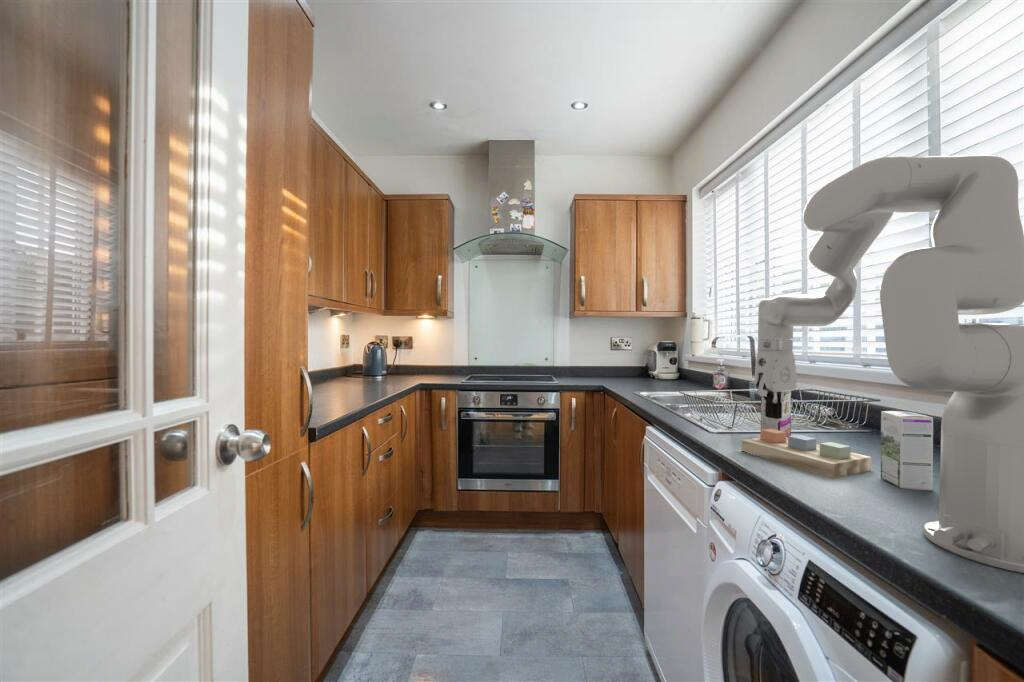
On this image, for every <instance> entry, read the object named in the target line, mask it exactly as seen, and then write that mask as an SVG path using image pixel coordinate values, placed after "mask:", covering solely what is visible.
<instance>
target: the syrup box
mask: <svg viewBox="0 0 1024 682" xmlns="http://www.w3.org/2000/svg"><path fill="white" fill-rule="evenodd" d="M933 470H934V417H932V416H928V415H925V414H920V413H915V412H912V411H903V410H883V411H882V410H881V411H880V479H881V480H884V481H886V482H888V483H890V484H892V485H894V486H896V487H898V488H900V489H906V490H918V491H920V490H921V491H933V488H934V481H933V479H934V471H933Z"/></svg>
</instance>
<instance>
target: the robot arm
mask: <svg viewBox="0 0 1024 682" xmlns="http://www.w3.org/2000/svg"><path fill="white" fill-rule="evenodd" d="M934 212H937V214H936V215H935V218H934V220H933V222H932V225H931V228H930V229H931V230H930V238H931V243H932V246H928V247H921V248H920V247H918V248H914V249H911V250H908V251H905V252H903V253H902V254H900V255H899V256H897V257H896V258H894V259H893V260H892V261H891V263H890V264H889V265H888V266H887V268H886V269H885V270H884V273H883V276H882V278H881V281H880V285H879V300H880V308H881V309H880V310H881V318H882V325H883V327H882V328H883V334H884V343H885V351H886V352H885V353H886V357H887V360H888V365H889V367H890V369H891V372H892V373H893V374H894V377H896V378H897V379H898V381H900V382H902V384H904V385H906V386H908V387H910V388H913V389H916V390H919V391H920V390H921V391H925V392H927V391H928V392H946V393H949V392H953V394H952V395H951V396H950V398H949V400H948V401H947V403H946V405H945V407H944V409H943V412H942V415H941V416H942V417H941V424H940V425H941V426H940V460H939V462H940V465H939V499H938V500H939V506H938V507H939V509H938V511H939V512H938V520H935V521H928V522H926V523H924V525H923V534H924V536H925V537H926V538H927V539H928V540H929V541H930V542H932V543H933V544H935V545H937V546H939V547H940V548H942V549H945V551H946V550H947V551H949V552H951V553H953V554H956V555H959V556H960V557H963V558H966V559H969V560H972V561H975V562H978V563H982V564H984V565H987V566H992V567H995V568H1000V569H1004V570H1007V571H1011V572H1012V571H1013V572H1015V573H1023V574H1024V325H1020V324H1015V323H1004V322H1003V323H1002V322H1001V323H999V322H961V323H960V322H959V315H960V316H962V315H963V316H964V315H965V316H966V315H967V316H969V315H972V316H973V315H992V314H993V315H994V314H1000V313H1005V312H1008V311H1009V312H1010V311H1011V310H1014V309H1016V308H1017V307H1020V306H1021V305H1022V304H1023V303H1024V228H1023V224H1022V220H1021V216H1020V209H1019V176H1018V173H1017V170H1016V168H1015V167H1014V165H1013V164H1012V163H1011V162H1010V161H1008V160H1007V159H1005V158H1003V157H1001V156H999V155H998V156H997V155H990V154H989V155H988V154H983V155H982V154H979V155H974V154H973V155H926V156H885V157H879V158H875V159H872V160H869V161H867V162H865V163H862V164H860V165H858V166H857V167H855V168H853V169H851V170H849V171H847V172H846V173H844V174H842V175H840V176H838V177H836V178H835V179H833V180H831V181H829V182H828V183H826V184H824V185H823V186H822V187H820V188H819V189H818V190H817V191H815V193H813V194H812V196H811V197H810V198H809V199H808V200H807V203H806V204H805V207H804V209H803V212H802V221H803V225H804V227H805V228H807V229H808V230H810V231H812V232H818V233H820V235H819V237H818V238H817V240H816V241H815V243H814V244H813V246H812V248H811V249H810V251H809V252H808V256H807V257H808V260H809V262H810V263H811V265H812V266H813V267H814V268H816V269H818V270H819V271H821V272H823V273H825V274H827V275H829V276H831V277H832V278H831V279H832V280H831V282H830V284H829V285H828V286H827V287H826V289H825V290H824V292H823V293H822V294H782V295H778V296H775V297H774V298H773V297H772V298H764V299H762V300H761V301H760V302H759V303H758V311H757V312H758V314H757V315H758V316H757V317H758V320H757V322H758V323H757V354H756V358H755V366H754V376H753V377H754V387H755V389H756V390H757V395H758V396H760V397H761V396H763V397H764V401H765V402H766V406H765V416H766V417H769V418H774V419H781V418H782V403H783V401H784V396H785V395H787V394H789V393H790V391H791V392H793V391H795V389H796V388H797V368H796V367H797V366H796V359H795V354H794V351H793V350H794V349H793V348H794V345H793V344H794V342H793V341H794V327H827V326H830V325H831V324H834V323H835V322H836V321H837V320H838V319H840V317H841V316H842V315H843V314H844V313H845V312H846V311H847V309H848V308H849V307H850V306H851V304H852V303H853V302H854V299H855V297H856V293H857V287H858V286H857V285H858V278H857V274H856V271H855V267H856V266H857V265H858V263H859V262H860V261H861V259H862V258H863V257H864V255H865V254H866V253H867V251H868V250H869V248H870V247H871V246H872V245H873V243H874V242H875V241H876V240H877V238H878V237H879V235H880V234H881V233H882V232H883V231H884V229H885V227H886V226H887V225H888V223H890V221H891V220H892V218H893V216H894V215H895V213H897V214H901V213H903V214H905V213H906V214H907V213H934ZM768 389H770V390H768Z"/></svg>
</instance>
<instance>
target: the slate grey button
mask: <svg viewBox="0 0 1024 682" xmlns="http://www.w3.org/2000/svg"><path fill="white" fill-rule="evenodd" d="M816 444H817V438H815V437H810V436H805V435H800V434H796V435H795V434H794V435H791V436H788V447H791V448H795V449H799V450H803V451H811V450H816Z"/></svg>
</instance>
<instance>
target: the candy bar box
mask: <svg viewBox="0 0 1024 682" xmlns="http://www.w3.org/2000/svg"><path fill="white" fill-rule="evenodd" d="M768 390H770V389H768ZM765 406H766V402H765V401H764V397H763V396H760V431H761V430H764V429H774V430H779V431H784V432H786V437H787V438H788V436H792V432H791V431H792V391H790V393H789V394H787V395H785V396H784V401H783V403H782V418H781V419H774V418H769V417H766V416H765Z"/></svg>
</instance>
